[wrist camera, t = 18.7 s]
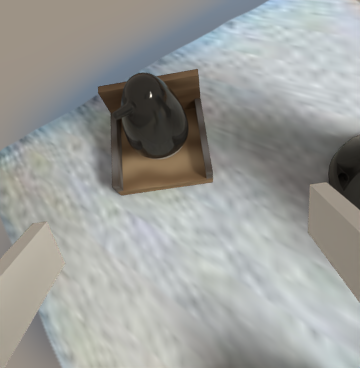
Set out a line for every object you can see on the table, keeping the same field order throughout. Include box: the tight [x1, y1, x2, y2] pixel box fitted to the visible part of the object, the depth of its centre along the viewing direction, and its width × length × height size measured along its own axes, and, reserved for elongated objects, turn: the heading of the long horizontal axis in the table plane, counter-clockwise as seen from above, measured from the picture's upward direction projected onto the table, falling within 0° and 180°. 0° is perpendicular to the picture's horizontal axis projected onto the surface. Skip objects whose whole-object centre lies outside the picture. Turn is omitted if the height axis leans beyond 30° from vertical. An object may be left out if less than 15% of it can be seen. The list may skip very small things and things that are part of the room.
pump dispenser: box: [113, 73, 189, 160], centre depth 40 cm, size 10×10×15 cm
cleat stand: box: [98, 69, 213, 195], centre depth 44 cm, size 15×16×10 cm
